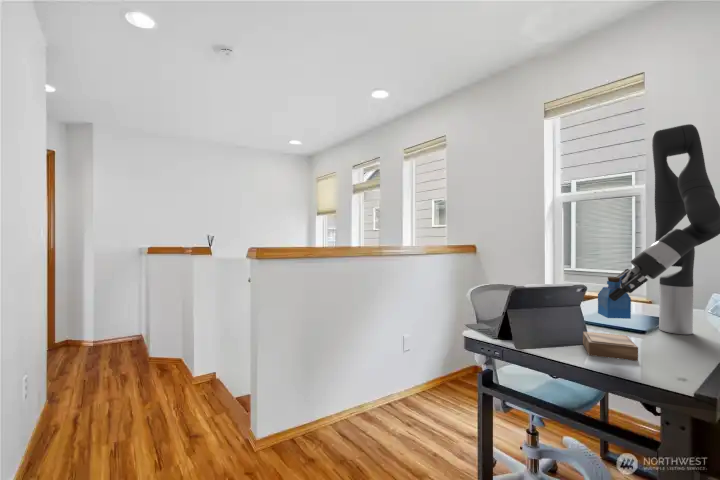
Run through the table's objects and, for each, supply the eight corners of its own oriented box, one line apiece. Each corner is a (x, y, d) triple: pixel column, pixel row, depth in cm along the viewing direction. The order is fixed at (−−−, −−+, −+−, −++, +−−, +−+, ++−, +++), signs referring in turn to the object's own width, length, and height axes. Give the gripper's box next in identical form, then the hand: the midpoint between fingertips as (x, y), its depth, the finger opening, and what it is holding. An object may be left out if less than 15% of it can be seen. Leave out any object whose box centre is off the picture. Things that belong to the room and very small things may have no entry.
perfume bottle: (630, 318, 104) (630, 279, 104) (607, 318, 105) (607, 278, 105) (619, 313, 110) (619, 276, 110) (597, 313, 112) (597, 276, 111)
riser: (582, 343, 117) (582, 330, 117) (626, 347, 112) (626, 334, 112) (589, 355, 106) (589, 341, 106) (638, 360, 101) (638, 346, 101)
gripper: (636, 249, 111) (593, 284, 116) (652, 252, 98) (603, 291, 103) (657, 266, 109) (612, 301, 114) (676, 271, 96) (625, 310, 101)
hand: (608, 296), depth 108 cm, fingers closed on perfume bottle, 7 cm apart
